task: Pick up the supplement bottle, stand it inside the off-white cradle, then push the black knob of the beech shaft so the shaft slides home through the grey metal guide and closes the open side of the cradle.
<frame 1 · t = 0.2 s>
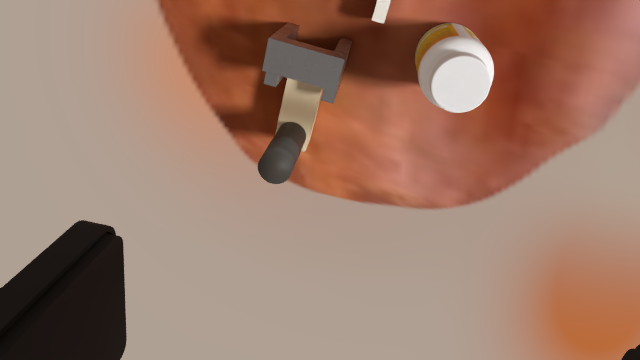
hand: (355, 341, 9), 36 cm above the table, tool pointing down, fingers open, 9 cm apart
supplement bottle: (446, 54, 41), on the table
guide block: (314, 53, 42), on the table
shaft: (294, 114, 40), point 5 cm above the table, slide at 4.5 cm
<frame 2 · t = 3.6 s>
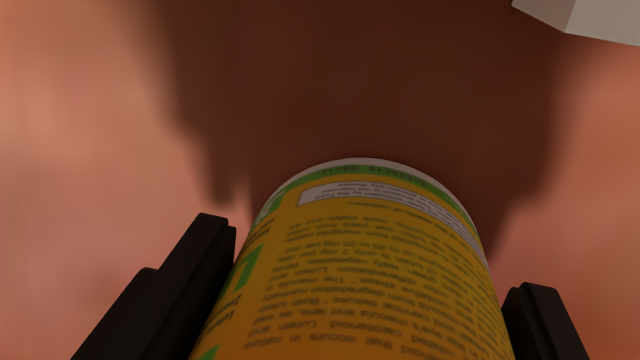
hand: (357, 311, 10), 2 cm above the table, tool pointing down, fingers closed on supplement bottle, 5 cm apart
supplement bottle: (363, 249, 12), on the table, touching gripper
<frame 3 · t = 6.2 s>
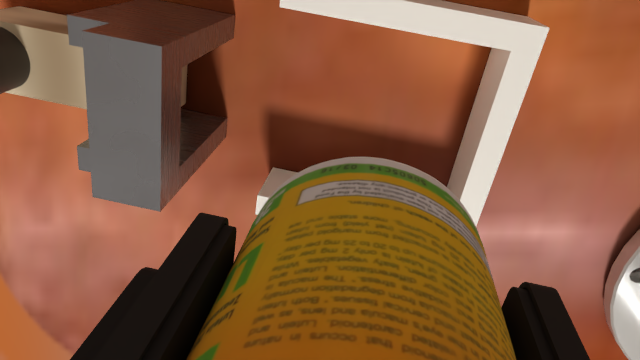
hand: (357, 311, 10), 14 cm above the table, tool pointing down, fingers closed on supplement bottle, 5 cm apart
supplement bottle: (363, 248, 12), point 11 cm above the table, touching gripper
guide block: (188, 71, 22), on the table
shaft: (30, 82, 18), point 5 cm above the table, slide at 4.5 cm
cradle: (379, 109, 22), on the table
when the fingers open (3 cm above the table, at t = 8.7 s): supplement bottle drops 1 cm, on the table.
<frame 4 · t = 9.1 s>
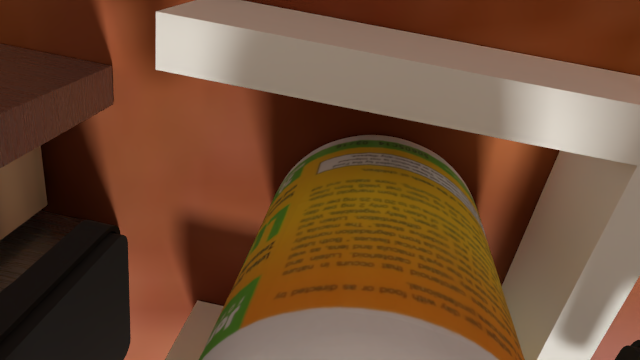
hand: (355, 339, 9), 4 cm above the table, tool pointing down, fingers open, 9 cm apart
supplement bottle: (372, 220, 13), on the table
guide block: (46, 155, 13), on the table
cradle: (366, 222, 13), on the table
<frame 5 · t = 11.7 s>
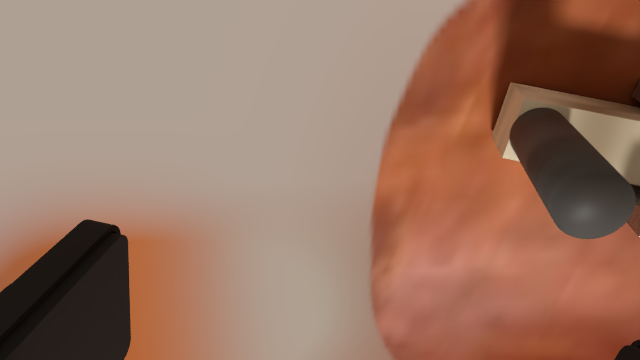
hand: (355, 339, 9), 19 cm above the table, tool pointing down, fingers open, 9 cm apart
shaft: (615, 163, 20), point 5 cm above the table, slide at 4.5 cm
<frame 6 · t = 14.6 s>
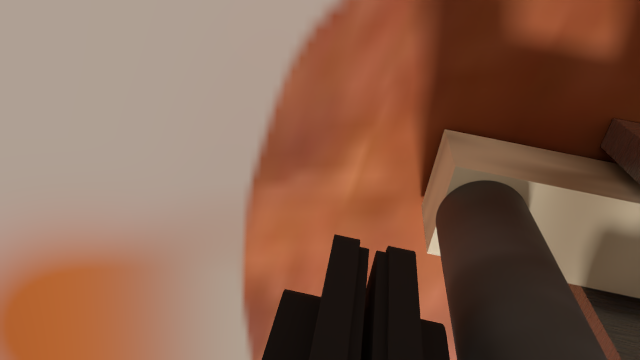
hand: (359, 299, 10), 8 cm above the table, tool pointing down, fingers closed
guide block: (634, 208, 16), on the table
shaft: (603, 283, 12), point 5 cm above the table, slide at 3.6 cm, touching gripper
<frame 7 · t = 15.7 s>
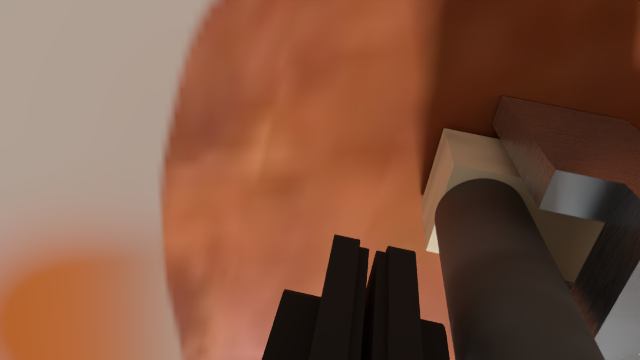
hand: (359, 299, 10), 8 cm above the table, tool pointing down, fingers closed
guide block: (530, 185, 17), on the table
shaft: (600, 280, 12), point 5 cm above the table, slide at 0.0 cm, touching gripper
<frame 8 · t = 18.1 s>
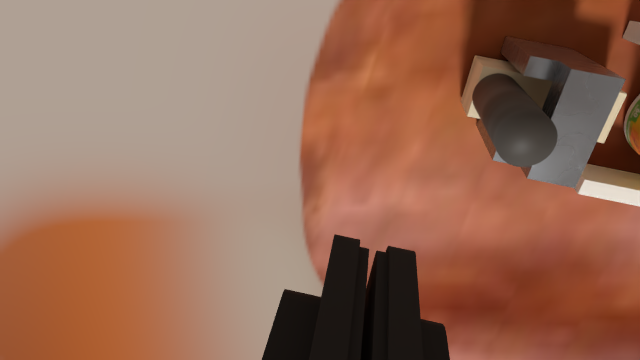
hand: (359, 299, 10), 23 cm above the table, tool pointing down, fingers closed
guide block: (521, 88, 30), on the table
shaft: (554, 116, 25), point 5 cm above the table, slide at 0.0 cm
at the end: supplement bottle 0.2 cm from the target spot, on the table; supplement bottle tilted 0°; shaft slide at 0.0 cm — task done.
